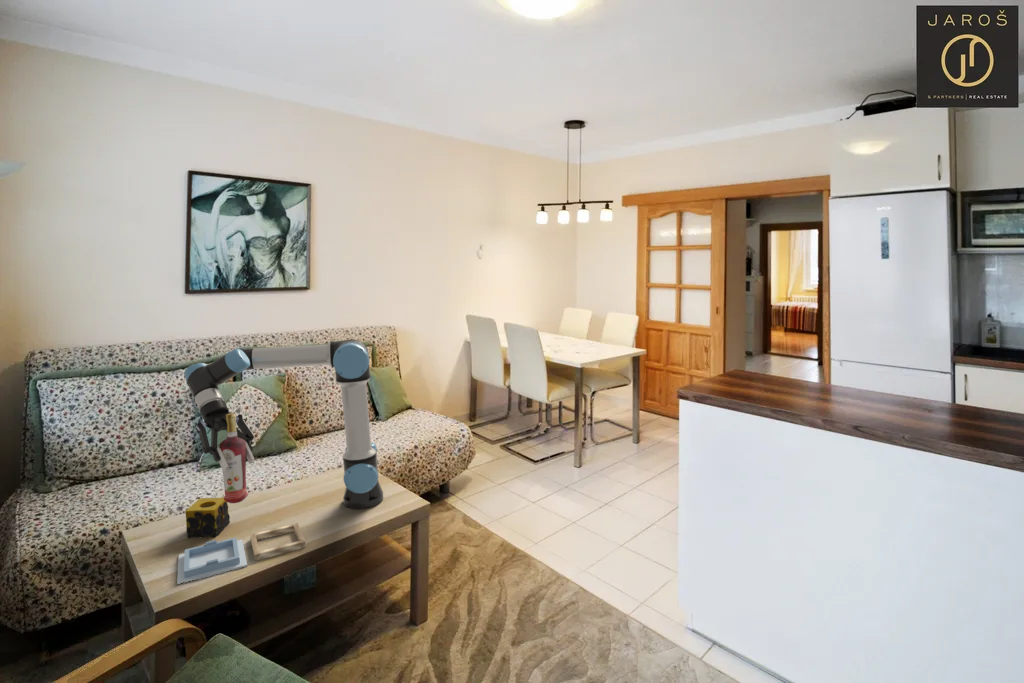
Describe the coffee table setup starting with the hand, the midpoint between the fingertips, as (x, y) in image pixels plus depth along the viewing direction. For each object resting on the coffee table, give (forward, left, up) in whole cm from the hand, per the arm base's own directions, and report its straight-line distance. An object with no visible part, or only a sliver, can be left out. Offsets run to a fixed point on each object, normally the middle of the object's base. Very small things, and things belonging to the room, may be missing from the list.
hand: (239, 464), depth 160 cm
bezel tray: (+9, +3, -30) cm, 32 cm away
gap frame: (-7, -7, -30) cm, 32 cm away
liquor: (+3, -2, -13) cm, 13 cm away
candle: (+21, -17, -30) cm, 41 cm away
